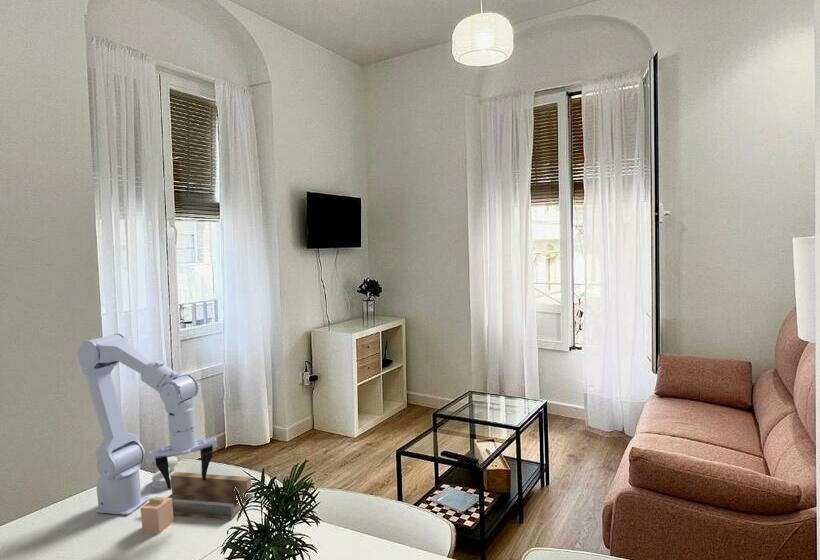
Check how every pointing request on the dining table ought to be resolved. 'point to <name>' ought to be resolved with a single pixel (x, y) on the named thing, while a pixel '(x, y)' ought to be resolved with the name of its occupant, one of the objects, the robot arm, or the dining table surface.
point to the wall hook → (172, 462)
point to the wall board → (209, 491)
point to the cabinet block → (157, 514)
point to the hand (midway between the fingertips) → (186, 482)
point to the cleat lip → (203, 507)
